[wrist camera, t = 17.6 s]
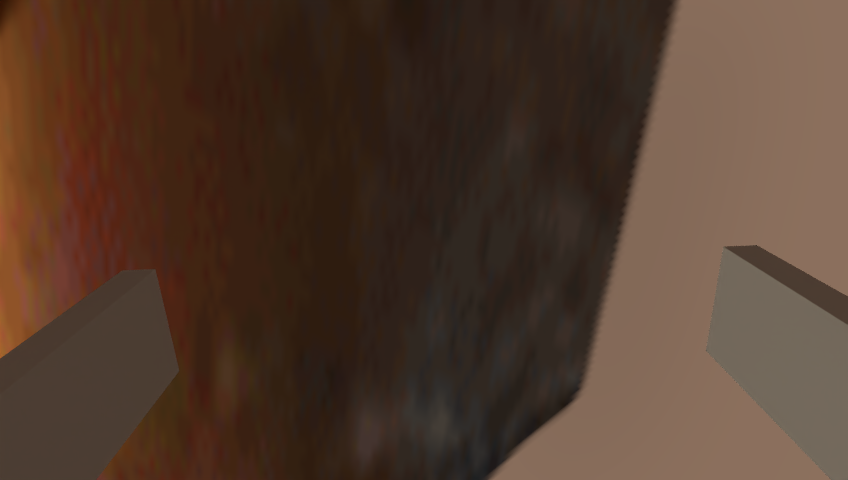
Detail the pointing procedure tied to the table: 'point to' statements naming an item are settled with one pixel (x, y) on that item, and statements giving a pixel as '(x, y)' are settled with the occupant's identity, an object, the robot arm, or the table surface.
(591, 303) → the table surface
